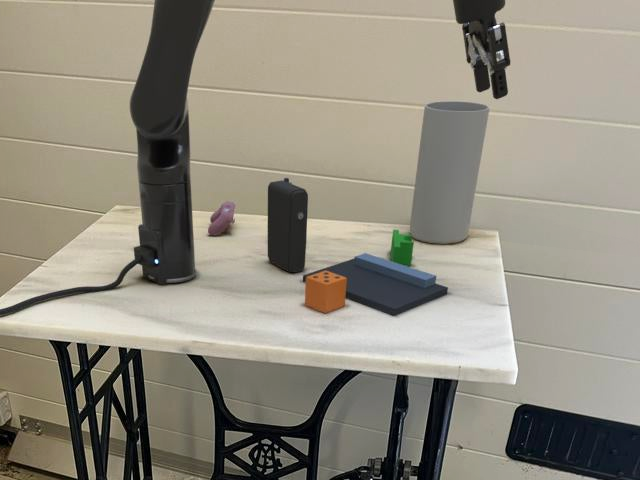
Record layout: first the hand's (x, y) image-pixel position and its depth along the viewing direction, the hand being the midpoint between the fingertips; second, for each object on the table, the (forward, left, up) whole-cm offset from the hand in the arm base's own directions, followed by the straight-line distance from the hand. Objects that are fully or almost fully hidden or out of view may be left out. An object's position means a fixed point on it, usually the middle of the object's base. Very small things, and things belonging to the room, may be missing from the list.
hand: (492, 93), depth 121 cm
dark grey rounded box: (-22, +26, -31) cm, 45 cm away
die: (-31, +7, -30) cm, 44 cm away
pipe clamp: (-3, +13, -31) cm, 33 cm away
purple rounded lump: (-16, +53, -31) cm, 63 cm away
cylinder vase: (+16, +18, -31) cm, 39 cm away
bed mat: (-18, +7, -30) cm, 36 cm away
